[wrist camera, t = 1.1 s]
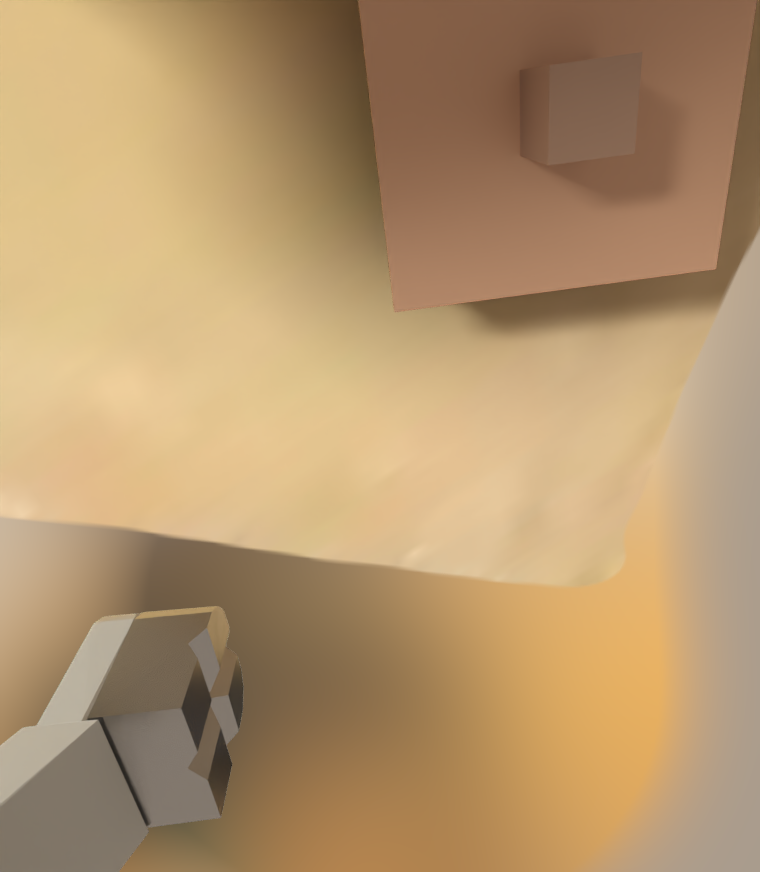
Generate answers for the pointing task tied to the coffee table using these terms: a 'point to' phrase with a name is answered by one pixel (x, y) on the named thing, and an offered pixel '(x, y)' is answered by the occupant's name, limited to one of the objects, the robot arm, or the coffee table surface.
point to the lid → (551, 140)
